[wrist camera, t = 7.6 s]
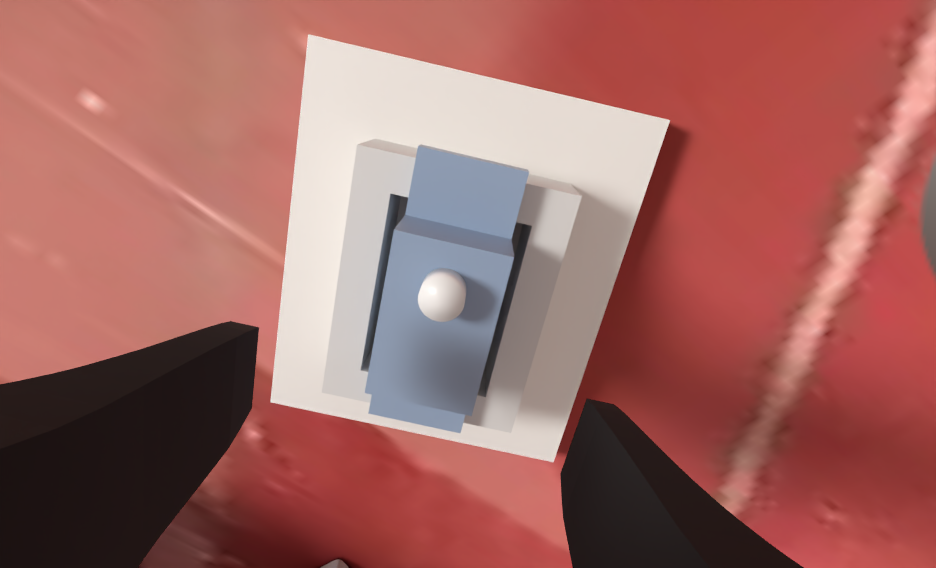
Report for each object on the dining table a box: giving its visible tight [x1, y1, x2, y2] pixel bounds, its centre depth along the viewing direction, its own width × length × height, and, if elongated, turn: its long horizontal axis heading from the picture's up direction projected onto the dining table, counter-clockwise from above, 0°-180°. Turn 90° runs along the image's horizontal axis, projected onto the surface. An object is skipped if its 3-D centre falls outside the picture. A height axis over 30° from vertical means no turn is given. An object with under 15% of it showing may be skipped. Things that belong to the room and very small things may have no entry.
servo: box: [365, 144, 529, 433], centre depth 16 cm, size 9×3×6 cm, turn 167°
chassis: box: [271, 34, 670, 462], centre depth 18 cm, size 14×12×4 cm
